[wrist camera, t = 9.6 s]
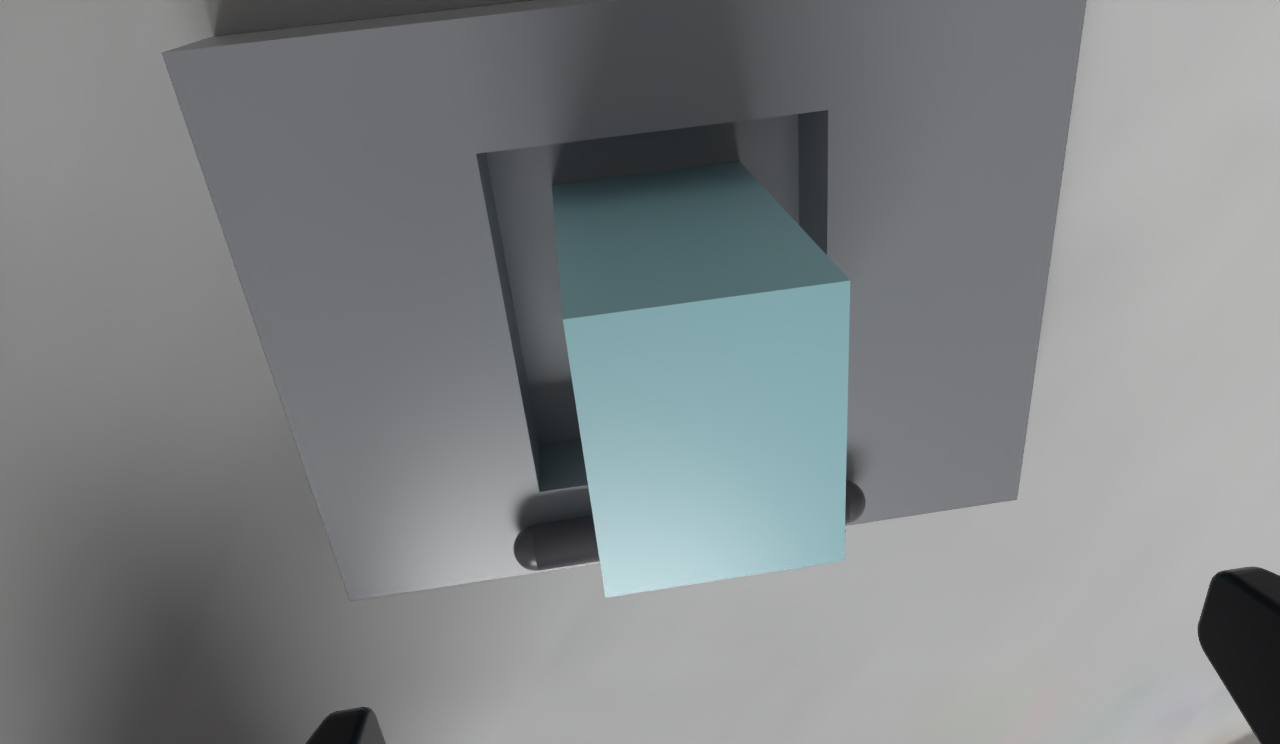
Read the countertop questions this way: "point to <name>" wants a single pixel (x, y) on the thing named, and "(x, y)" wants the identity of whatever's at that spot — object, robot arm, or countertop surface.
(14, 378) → the countertop surface
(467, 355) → the outlet plate
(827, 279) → the block
